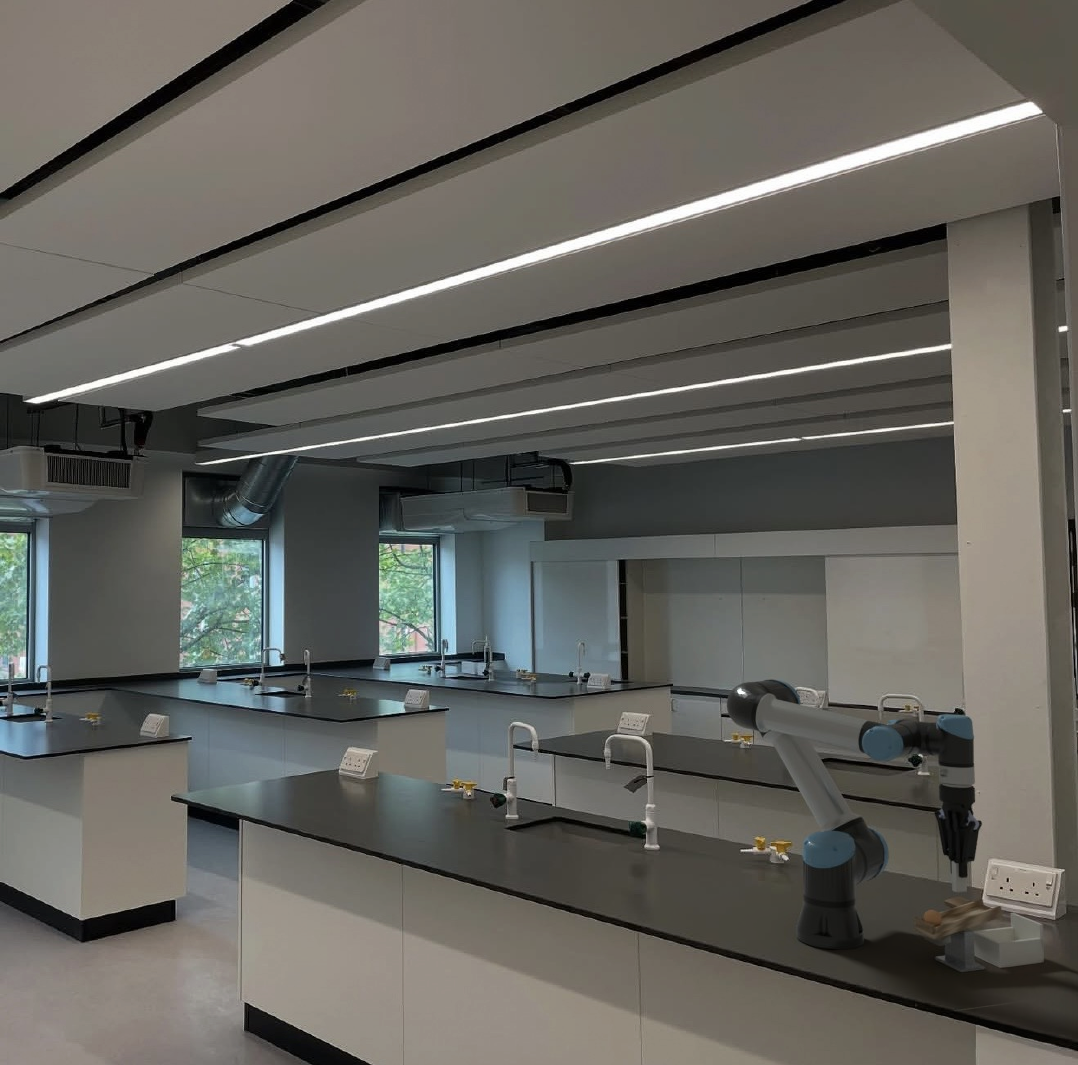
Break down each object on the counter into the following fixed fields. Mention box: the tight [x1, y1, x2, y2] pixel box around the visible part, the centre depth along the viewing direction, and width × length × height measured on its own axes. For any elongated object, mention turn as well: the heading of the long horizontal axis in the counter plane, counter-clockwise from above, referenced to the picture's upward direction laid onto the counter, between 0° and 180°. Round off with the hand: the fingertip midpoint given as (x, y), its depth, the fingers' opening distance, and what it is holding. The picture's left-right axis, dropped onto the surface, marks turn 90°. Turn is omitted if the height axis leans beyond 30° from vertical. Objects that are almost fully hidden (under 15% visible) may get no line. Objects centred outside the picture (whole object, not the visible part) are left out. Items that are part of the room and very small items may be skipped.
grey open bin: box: [973, 912, 1045, 969], centre depth 223 cm, size 9×12×8 cm
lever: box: [913, 895, 1004, 947], centre depth 223 cm, size 18×13×5 cm
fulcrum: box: [935, 928, 985, 973], centre depth 220 cm, size 6×8×8 cm
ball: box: [922, 909, 941, 927], centre depth 218 cm, size 4×4×4 cm
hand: (959, 890), depth 229 cm, fingers closed
